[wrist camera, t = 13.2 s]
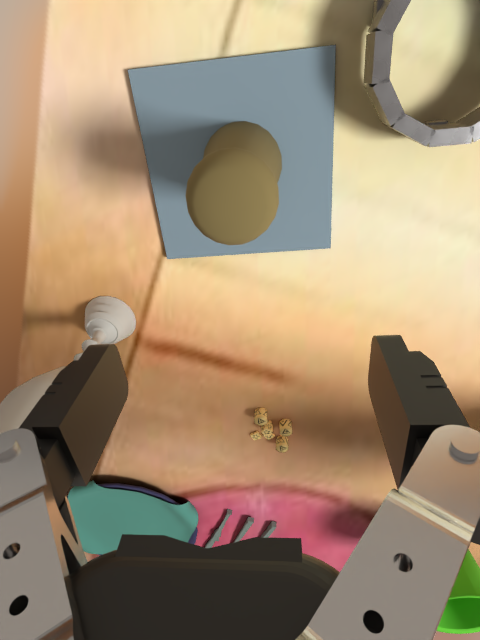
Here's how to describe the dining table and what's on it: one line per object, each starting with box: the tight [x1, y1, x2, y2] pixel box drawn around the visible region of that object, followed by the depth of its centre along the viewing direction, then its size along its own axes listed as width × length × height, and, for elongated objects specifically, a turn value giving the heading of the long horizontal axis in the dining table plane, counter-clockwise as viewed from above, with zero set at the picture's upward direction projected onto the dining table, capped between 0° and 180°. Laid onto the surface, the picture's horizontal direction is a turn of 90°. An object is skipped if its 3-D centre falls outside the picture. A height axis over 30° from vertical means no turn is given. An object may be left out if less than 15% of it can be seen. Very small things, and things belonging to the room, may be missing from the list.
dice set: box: [250, 408, 292, 453], centre depth 45 cm, size 5×5×2 cm
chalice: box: [0, 296, 136, 434], centre depth 31 cm, size 7×7×18 cm
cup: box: [436, 549, 480, 634], centre depth 48 cm, size 9×9×11 cm
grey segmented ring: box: [364, 0, 480, 147], centre depth 24 cm, size 10×10×4 cm
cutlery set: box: [67, 481, 276, 555], centre depth 57 cm, size 20×30×2 cm, turn 71°
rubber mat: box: [128, 45, 336, 259], centre depth 30 cm, size 14×14×1 cm
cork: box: [185, 121, 282, 245], centre depth 25 cm, size 6×6×11 cm
